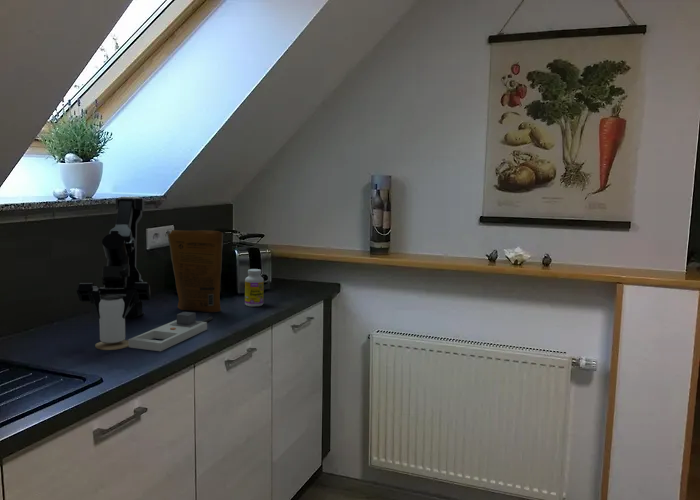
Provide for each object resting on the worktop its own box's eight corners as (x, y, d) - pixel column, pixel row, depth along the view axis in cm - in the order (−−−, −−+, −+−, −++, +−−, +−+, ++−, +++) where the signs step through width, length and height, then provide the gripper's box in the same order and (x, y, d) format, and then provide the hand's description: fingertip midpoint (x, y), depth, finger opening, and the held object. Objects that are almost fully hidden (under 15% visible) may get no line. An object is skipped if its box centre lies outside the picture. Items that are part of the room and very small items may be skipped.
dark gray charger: (176, 324, 180) (176, 314, 179) (184, 321, 184) (184, 311, 183) (188, 325, 179) (188, 315, 178) (195, 322, 182) (195, 312, 182)
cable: (198, 327, 185) (198, 324, 185) (195, 327, 186) (195, 323, 185) (213, 319, 196) (213, 316, 195) (210, 319, 196) (210, 316, 196)
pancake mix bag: (219, 314, 202) (218, 231, 198) (167, 310, 206) (166, 228, 202) (227, 310, 208) (227, 229, 205) (177, 306, 213) (176, 227, 209)
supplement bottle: (248, 307, 213) (248, 271, 211) (242, 303, 219) (242, 268, 217) (266, 306, 216) (266, 270, 214) (260, 302, 222) (260, 268, 220)
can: (110, 345, 161) (109, 301, 159) (94, 341, 164) (93, 297, 162) (130, 339, 166) (129, 297, 164) (114, 335, 169) (113, 293, 168)
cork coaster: (87, 347, 162) (87, 346, 162) (110, 339, 170) (110, 337, 170) (116, 351, 159) (116, 350, 159) (137, 342, 168) (137, 341, 168)
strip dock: (128, 347, 163) (128, 338, 163) (178, 326, 186) (178, 318, 186) (160, 351, 161) (160, 342, 160) (207, 329, 183) (207, 321, 183)
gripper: (76, 254, 163) (68, 303, 154) (148, 253, 167) (144, 301, 158) (84, 277, 172) (76, 324, 163) (152, 276, 176) (148, 322, 167)
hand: (111, 318), depth 163 cm, fingers closed on can, 6 cm apart
